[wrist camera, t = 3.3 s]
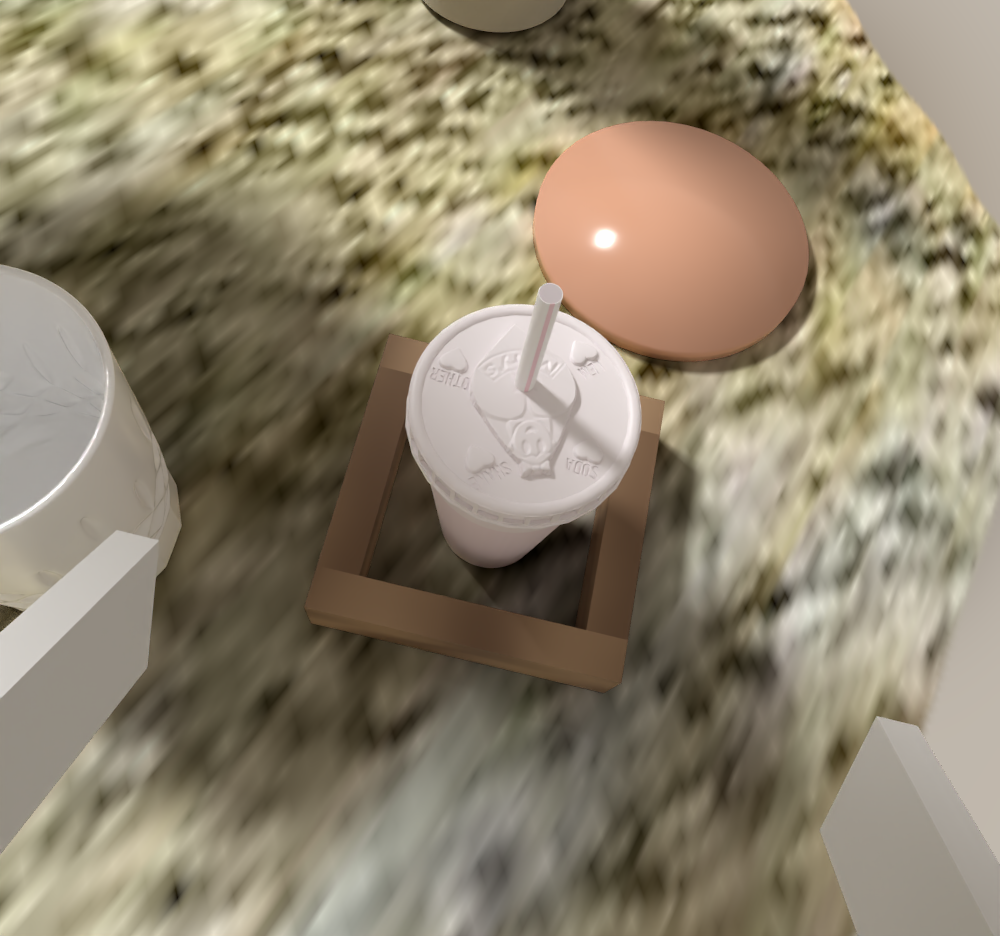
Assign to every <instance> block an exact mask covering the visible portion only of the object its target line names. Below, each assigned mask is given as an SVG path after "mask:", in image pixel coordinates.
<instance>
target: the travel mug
mask: <svg viewBox="0 0 1000 936" xmlns="http://www.w3.org/2000/svg"><path fill="white" fill-rule="evenodd" d="M423 1H424V2H425V3H426V4H427V5H428V6H429V7H430V8H431V9H433V10H434V11H435V12H437V13H438V14H439V15H441V16H443V17H444V18H446V19H448V20H450V21H452V22H454V23H457V24H459V25H462V26H465V27H468V28H471V29H476V30H481V31H487V32H513V31H520V30H525V29H528V28H532V27H534V26H537V25H539V24H541V23H543V22H545V21H547V20H548V19H550V18H551V17H552V16H554V15H555V14H556V13H557V12H558V11H559V10H560V9H561V7H562V6H563V5H564V3H565V1H566V0H423Z"/></svg>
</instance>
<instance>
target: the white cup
mask: <svg viewBox="0 0 1000 936" xmlns="http://www.w3.org/2000/svg"><path fill="white" fill-rule="evenodd" d="M181 527H182V523H181V515H180V507H179V498H178V490H177V485H176V483H175V481H174V480H173V478H172V476H171V474H170V472H169V471H168V469H167V467H166V464H165V460H164V457H163V454H162V452H161V449H160V446H159V444H158V442H157V440H156V438H155V436H154V434H153V432H152V430H151V427H150V425H149V422H148V420H147V418H146V416H145V414H144V412H143V410H142V408H141V406H140V404H139V402H138V400H137V398H136V397H135V395H134V393H133V391H132V389H131V387H130V385H129V383H128V381H127V379H126V377H125V375H124V374H123V372H122V370H121V368H120V366H119V364H118V362H117V360H116V358H115V356H114V354H113V352H112V350H111V348H110V346H109V344H108V342H107V340H106V338H105V336H104V334H103V332H102V330H101V329H100V327H99V325H98V324H97V322H96V321H95V319H94V318H93V316H92V315H91V314H90V313H89V312H88V310H87V309H86V308H85V307H84V306H83V305H82V304H81V303H80V302H79V301H78V300H77V299H76V298H74V297H73V296H72V295H71V294H70V293H68V292H67V291H65V290H64V289H63V288H61V287H59V286H58V285H56V284H55V283H53V282H51V281H49V280H47V279H45V278H43V277H41V276H38V275H36V274H34V273H31V272H28V271H25V270H22V269H19V268H15V267H11V266H6V265H1V264H0V605H5V606H10V607H14V608H16V609H18V610H21V611H23V612H24V611H25V610H26V609H27V608H29V607H30V606H31V605H32V604H33V603H34V602H35V601H37V600H38V599H39V598H40V597H41V596H42V595H43V594H45V593H46V592H47V591H48V590H49V589H50V588H51V587H53V586H54V585H55V584H56V583H57V582H58V581H59V580H60V579H62V578H63V577H64V576H65V575H66V574H67V573H68V572H70V571H71V570H72V569H73V568H74V567H75V566H76V565H78V564H79V563H80V562H81V561H82V560H83V559H84V558H86V557H87V556H88V555H89V554H90V553H91V552H92V551H94V550H95V549H96V548H97V547H98V546H99V545H100V544H101V543H103V542H104V541H105V540H106V539H107V538H108V537H109V536H111V535H112V534H113V533H114V532H115V531H116V530H118V531H122V532H127V533H131V534H135V535H139V536H143V537H147V538H151V539H155V540H159V549H158V560H157V571H156V577H157V576H158V575H159V574H160V573H161V572H162V571H163V570H164V569H165V568H166V566H167V564H168V562H169V559H170V556H171V554H172V551H173V548H174V546H175V543H176V540H177V538H178V535H179V532H180V530H181Z"/></svg>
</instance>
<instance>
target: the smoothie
mask: <svg viewBox="0 0 1000 936" xmlns="http://www.w3.org/2000/svg"><path fill="white" fill-rule="evenodd" d="M562 298H563V291H562V289H561V288H560V287H559V286H558V285H556V284H554V283H546V284H543V285H542V286H541V287H540V288H539V291H538V295H537V298H536V302H535V305H524V304H509V305H499V306H494V307H489V308H485V309H481V310H478V311H475V312H473V313H470V314H468V315H466V316H464V317H462V318H460V319H458V320H456V321H455V322H453V323H451V324H450V325H449V326H447V327H446V328H445V329H443V330H442V331H441V332H440V333H439V334H438V335H437V336H436V337H435V338H434V339H433V340H432V341H431V342H430V343H429V345H428V346H427V347H426V349H425V350H424V352H423V353H422V355H421V356H420V358H419V360H418V362H417V364H416V366H415V369H414V371H413V374H412V378H411V381H410V386H409V392H408V396H407V401H406V421H405V428H406V432H407V436H408V440H409V444H410V448H411V452H412V455H413V457H414V459H415V461H416V462H417V464H418V466H419V468H420V470H421V471H422V473H423V475H424V477H425V478H426V480H427V481H428V482H429V483H430V485H431V489H432V493H433V497H434V501H435V505H436V509H437V513H438V517H439V521H440V525H441V529H442V533H443V536H444V538H445V540H446V542H447V544H448V545H449V547H450V548H451V549H452V551H453V552H454V553H455V554H456V555H458V556H459V557H460V558H461V559H463V560H465V561H466V562H468V563H470V564H473V565H475V566H479V567H484V568H499V567H504V566H508V565H510V564H513V563H515V562H517V561H518V560H520V559H521V558H522V557H524V556H525V555H526V554H527V553H528V552H529V551H531V550H532V549H533V548H534V547H535V546H536V545H537V544H539V543H540V542H541V541H542V540H543V539H544V538H545V537H546V536H548V535H549V534H550V533H551V532H552V531H553V530H554V529H556V528H557V527H558V526H559V525H561V524H565V523H569V522H571V521H573V520H575V519H577V518H579V517H581V516H583V515H585V514H587V513H588V512H590V511H592V510H594V509H596V508H597V507H598V506H599V505H600V504H601V503H602V502H603V501H604V500H605V499H606V498H607V497H608V496H609V495H610V494H611V493H613V492H614V491H615V490H616V489H617V487H618V485H619V483H620V482H621V480H622V478H623V476H624V475H625V473H626V471H627V469H628V467H629V466H630V463H631V460H632V458H633V455H634V453H635V451H636V448H637V445H638V441H639V437H640V431H641V419H642V416H641V404H640V397H639V394H638V390H637V386H636V384H635V381H634V378H633V376H632V374H631V372H630V370H629V368H628V366H627V365H626V363H625V361H624V360H623V358H622V357H621V356H620V354H619V353H618V352H617V350H616V349H615V348H614V347H613V346H612V345H611V344H610V343H609V342H608V341H607V340H606V339H605V338H604V337H603V336H602V335H601V334H599V333H598V332H597V331H596V330H594V329H593V328H591V327H590V326H588V325H587V324H585V323H584V322H582V321H580V320H578V319H576V318H574V317H572V316H570V315H568V314H565V313H563V312H560V311H559V307H560V304H561V301H562Z"/></svg>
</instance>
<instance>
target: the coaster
mask: <svg viewBox="0 0 1000 936" xmlns="http://www.w3.org/2000/svg"><path fill="white" fill-rule="evenodd" d="M533 243H534V248H535V253H536V257H537V260H538V263H539V266H540V268H541V271H542V273H543V275H544V277H545V279H546V281H547V283H554V284H556V285H558V286H559V287H560V288H561V289H562V291H563V298H562V301H561V303H562V304H563V305H564V307H565V308H566V309H567V310H568V311H569V312H570V313H571V314H572V315H573V316H574V317H575V318H576V319H578V320H580V321H582V322H584V323H585V324H587V325H588V326H590V327H591V328H593V329H594V330H596V331H597V332H598V333H599V334H601V335H602V336H603V337H604V338H605V339H606V340H607V341H609V342H611V343H613V344H615V345H617V346H619V347H621V348H624V349H627V350H629V351H632V352H634V353H637V354H641V355H644V356H648V357H652V358H656V359H662V360H669V361H684V362H695V361H707V360H713V359H718V358H722V357H727V356H730V355H733V354H735V353H738V352H741V351H743V350H745V349H747V348H749V347H751V346H753V345H755V344H757V343H758V342H759V341H761V340H762V339H763V338H765V337H766V336H767V335H769V334H770V333H771V332H772V331H773V330H774V329H775V328H776V327H777V326H778V325H779V324H780V323H781V322H782V320H783V319H784V318H785V316H786V315H787V314H788V313H789V311H790V310H791V308H792V307H793V305H794V304H795V303H796V301H797V299H798V297H799V295H800V293H801V291H802V289H803V287H804V283H805V279H806V276H807V271H808V262H809V248H808V240H807V234H806V229H805V226H804V223H803V220H802V218H801V215H800V213H799V211H798V209H797V207H796V205H795V203H794V201H793V199H792V197H791V196H790V194H789V193H788V191H787V190H786V188H785V187H784V186H783V184H782V183H781V182H780V181H779V180H778V178H777V177H776V176H775V175H774V174H773V173H772V172H771V171H770V170H769V169H768V168H767V167H766V166H765V165H764V164H763V163H762V162H760V161H759V160H758V159H756V158H755V157H754V156H753V155H751V154H750V153H749V152H747V151H746V150H744V149H742V148H741V147H739V146H738V145H736V144H734V143H733V142H731V141H729V140H727V139H725V138H723V137H721V136H718V135H716V134H713V133H711V132H708V131H705V130H703V129H699V128H696V127H692V126H688V125H684V124H678V123H672V122H663V121H635V122H628V123H622V124H617V125H613V126H610V127H606V128H603V129H601V130H598V131H596V132H593V133H591V134H589V135H587V136H585V137H584V138H582V139H580V140H578V141H577V142H575V143H574V144H573V145H572V146H570V147H569V148H568V149H566V150H565V151H564V152H563V153H562V154H561V155H560V157H559V158H558V159H557V160H556V161H555V162H554V164H553V165H552V166H551V168H550V169H549V171H548V172H547V174H546V176H545V178H544V180H543V183H542V185H541V187H540V191H539V195H538V198H537V202H536V207H535V211H534V219H533Z"/></svg>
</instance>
